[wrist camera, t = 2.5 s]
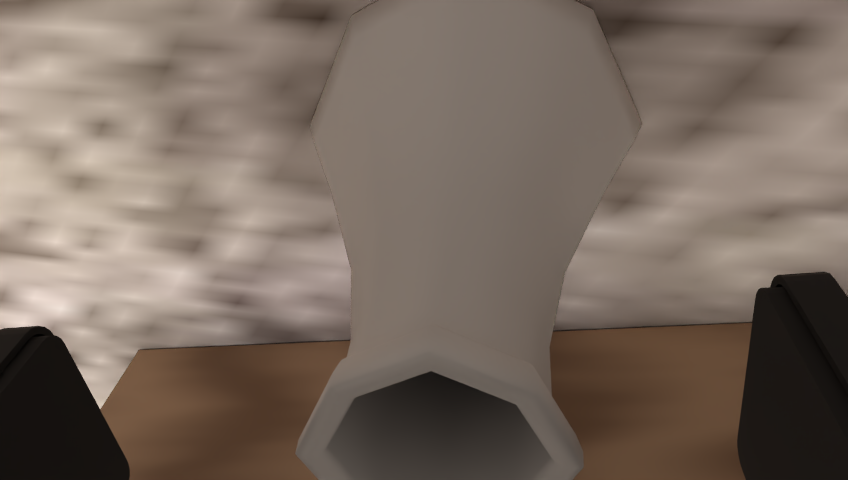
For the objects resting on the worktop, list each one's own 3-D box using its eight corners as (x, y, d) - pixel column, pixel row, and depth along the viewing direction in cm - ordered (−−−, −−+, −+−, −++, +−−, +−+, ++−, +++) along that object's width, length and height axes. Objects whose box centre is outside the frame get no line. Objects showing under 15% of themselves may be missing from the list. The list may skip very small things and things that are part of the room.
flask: (260, 121, 17) (26, 444, 9) (468, -125, 14) (408, 20, 5) (474, 294, 19) (449, 683, 11) (698, 118, 16) (905, 484, 8)
